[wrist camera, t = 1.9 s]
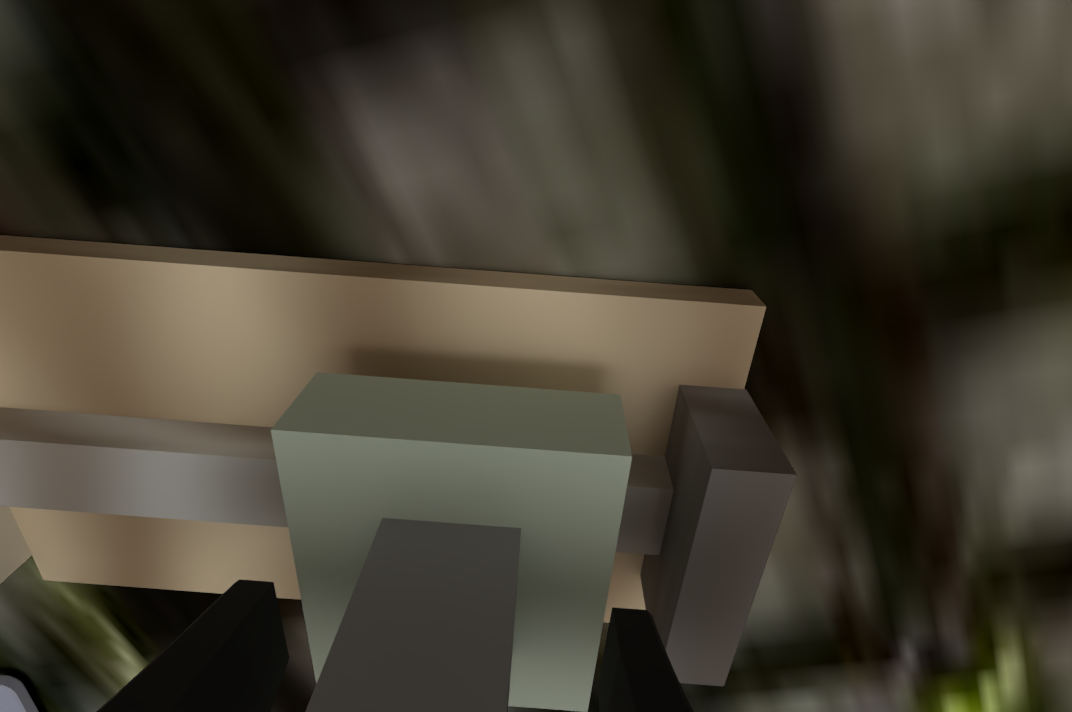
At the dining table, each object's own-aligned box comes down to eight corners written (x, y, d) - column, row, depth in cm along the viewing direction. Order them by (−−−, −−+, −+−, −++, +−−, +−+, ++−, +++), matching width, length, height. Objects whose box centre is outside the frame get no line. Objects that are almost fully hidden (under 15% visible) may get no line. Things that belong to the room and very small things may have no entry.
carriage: (360, 581, 15) (221, 939, 9) (335, 349, 12) (92, 652, 6) (582, 598, 15) (598, 969, 9) (615, 370, 12) (678, 697, 6)
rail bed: (70, 553, 17) (-58, 680, 14) (-68, 230, 13) (-313, 292, 9) (675, 598, 17) (705, 737, 14) (753, 290, 13) (830, 375, 9)
